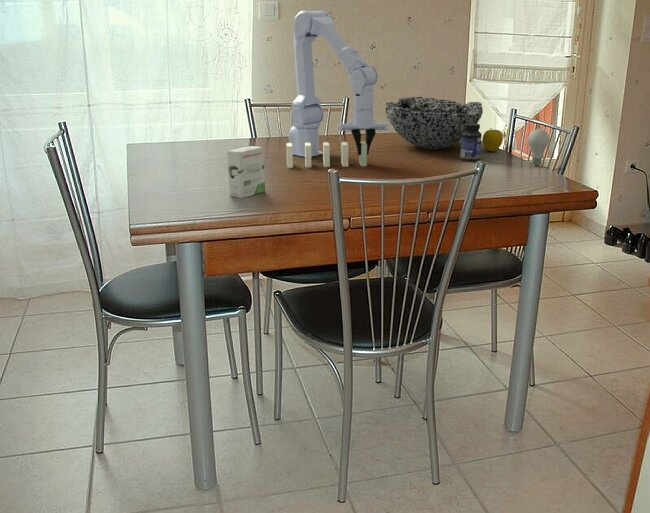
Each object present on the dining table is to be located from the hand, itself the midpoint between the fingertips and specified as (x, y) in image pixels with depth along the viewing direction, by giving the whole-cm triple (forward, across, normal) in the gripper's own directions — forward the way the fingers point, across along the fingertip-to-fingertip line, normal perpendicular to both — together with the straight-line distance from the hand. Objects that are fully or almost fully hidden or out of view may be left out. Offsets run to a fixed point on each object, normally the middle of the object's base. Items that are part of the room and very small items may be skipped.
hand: (363, 154), depth 218 cm
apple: (+3, +44, +15) cm, 47 cm away
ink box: (+3, -34, -32) cm, 47 cm away
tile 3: (+3, -11, 0) cm, 11 cm away
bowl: (+3, +27, +24) cm, 36 cm away
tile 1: (+3, -22, 0) cm, 22 cm away
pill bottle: (+3, +34, +3) cm, 34 cm away
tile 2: (+3, -17, 0) cm, 17 cm away
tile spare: (+3, 0, 0) cm, 3 cm away
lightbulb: (+3, +51, -8) cm, 51 cm away
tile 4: (+3, -6, 0) cm, 6 cm away
